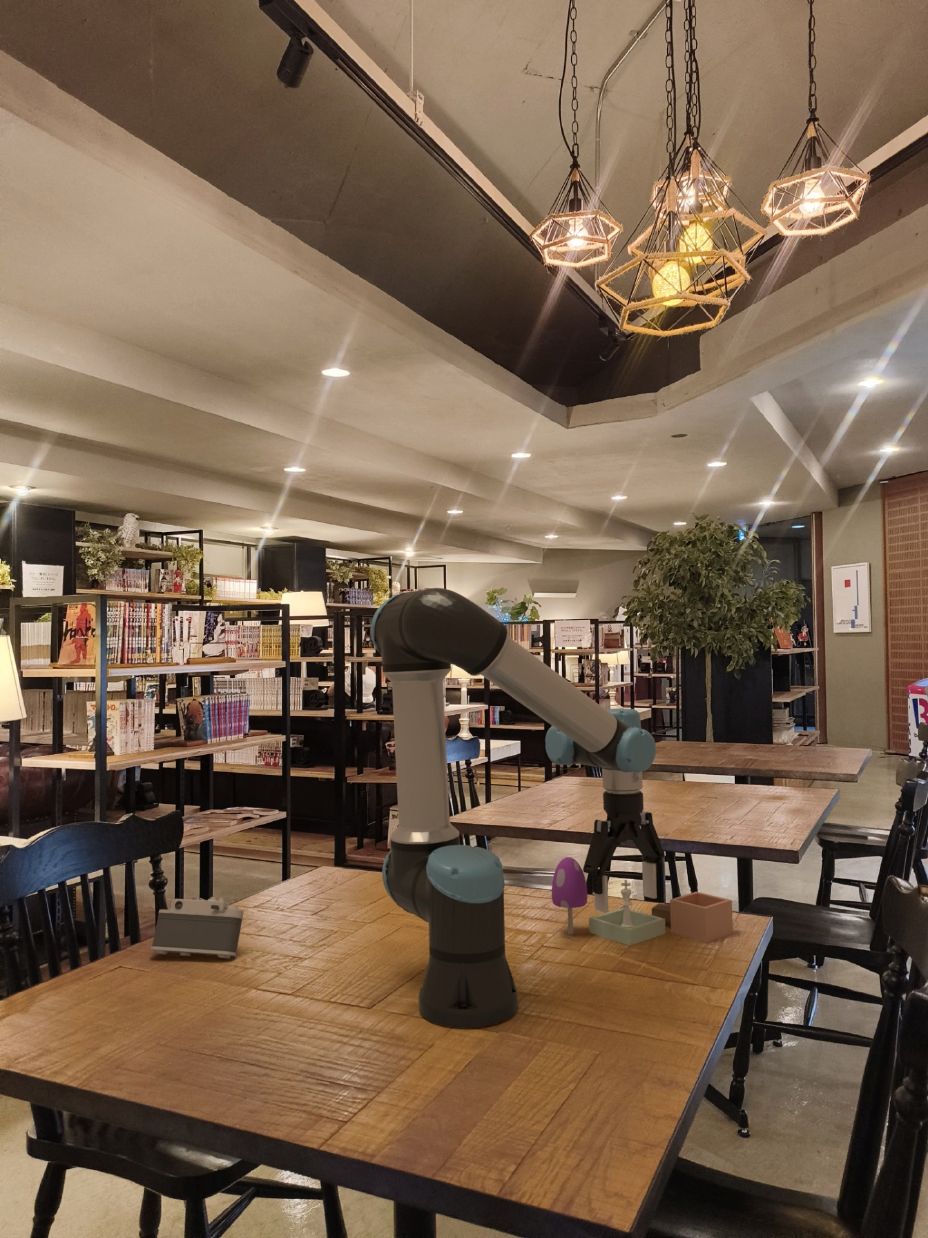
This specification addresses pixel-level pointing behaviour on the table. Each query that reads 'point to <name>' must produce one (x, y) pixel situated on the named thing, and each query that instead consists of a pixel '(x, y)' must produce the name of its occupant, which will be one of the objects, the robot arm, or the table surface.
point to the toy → (569, 887)
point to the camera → (198, 928)
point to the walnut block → (662, 913)
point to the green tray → (611, 928)
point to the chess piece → (626, 905)
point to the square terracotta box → (701, 917)
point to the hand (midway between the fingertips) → (626, 904)
